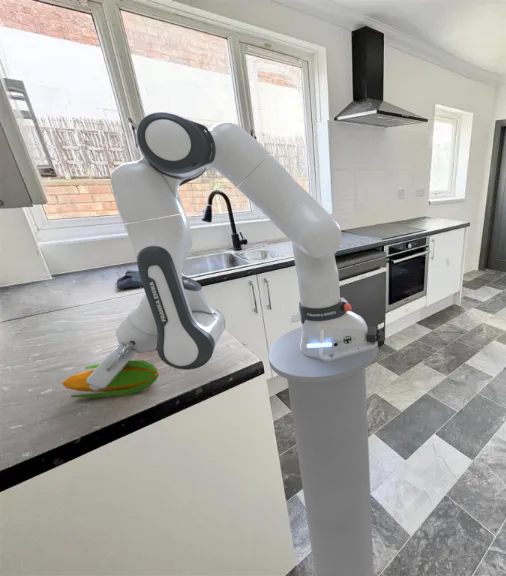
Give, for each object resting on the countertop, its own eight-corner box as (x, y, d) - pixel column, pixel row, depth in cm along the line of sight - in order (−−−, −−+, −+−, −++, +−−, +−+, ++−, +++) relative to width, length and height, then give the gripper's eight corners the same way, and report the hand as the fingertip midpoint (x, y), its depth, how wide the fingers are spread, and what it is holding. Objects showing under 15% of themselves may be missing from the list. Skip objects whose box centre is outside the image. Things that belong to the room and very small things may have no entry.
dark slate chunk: (112, 292, 139) (109, 282, 138) (118, 280, 157) (116, 271, 155) (153, 285, 147) (151, 276, 146) (155, 275, 165) (153, 266, 163)
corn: (143, 367, 68) (40, 377, 66) (151, 397, 70) (51, 408, 68) (161, 352, 76) (68, 360, 73) (167, 379, 78) (78, 388, 75)
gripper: (135, 363, 62) (93, 413, 63) (171, 321, 81) (138, 360, 82) (102, 347, 60) (58, 399, 60) (146, 308, 78) (112, 348, 79)
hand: (104, 376), depth 71 cm, fingers open, 7 cm apart
